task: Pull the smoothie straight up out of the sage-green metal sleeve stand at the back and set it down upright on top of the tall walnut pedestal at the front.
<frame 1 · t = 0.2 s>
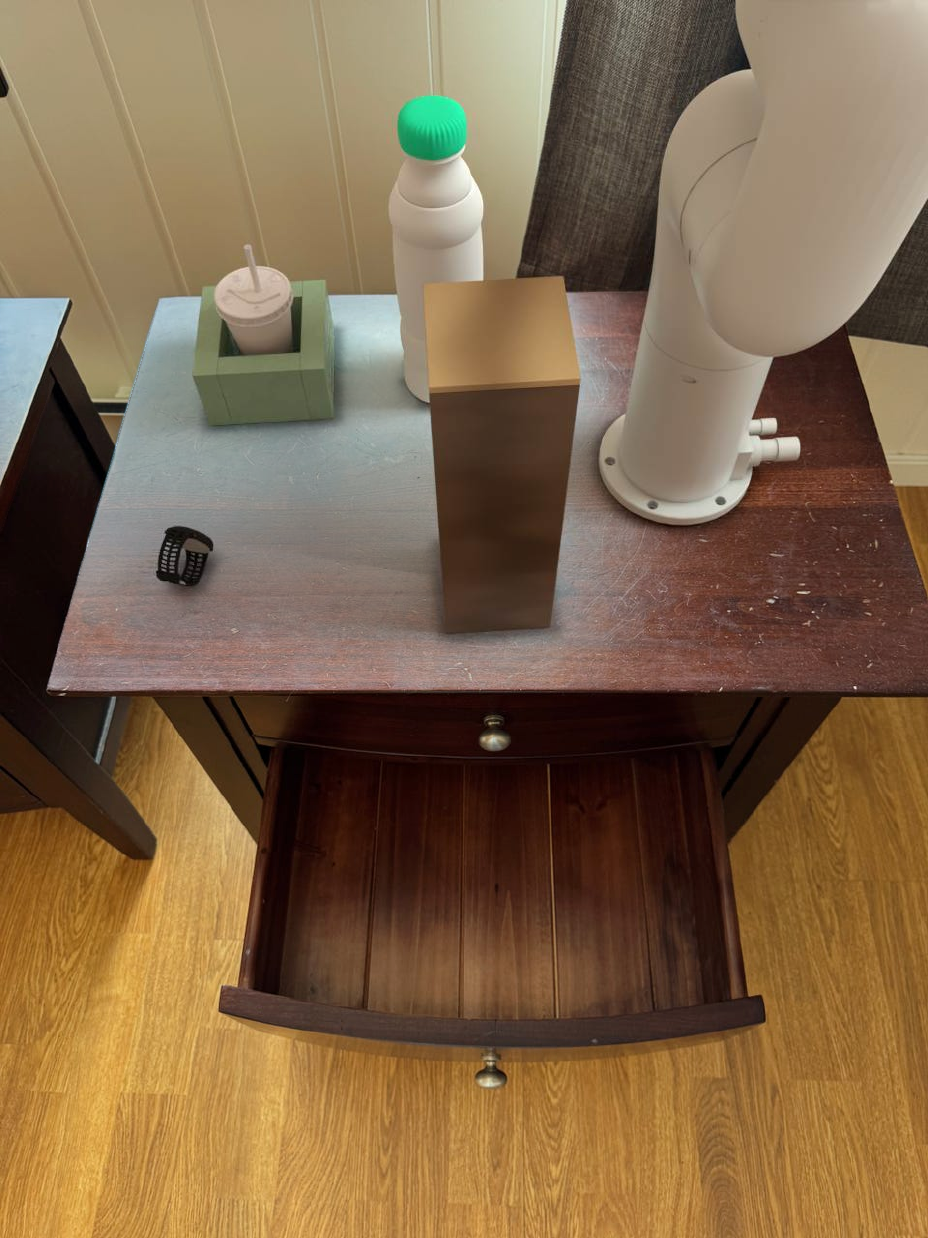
smartwatch: (188, 576, 75), on the nightstand
stand: (274, 377, 86), on the nightstand
smoothie: (274, 378, 86), resting in stand
water bottle: (444, 381, 86), on the nightstand
riser: (493, 586, 74), on the nightstand
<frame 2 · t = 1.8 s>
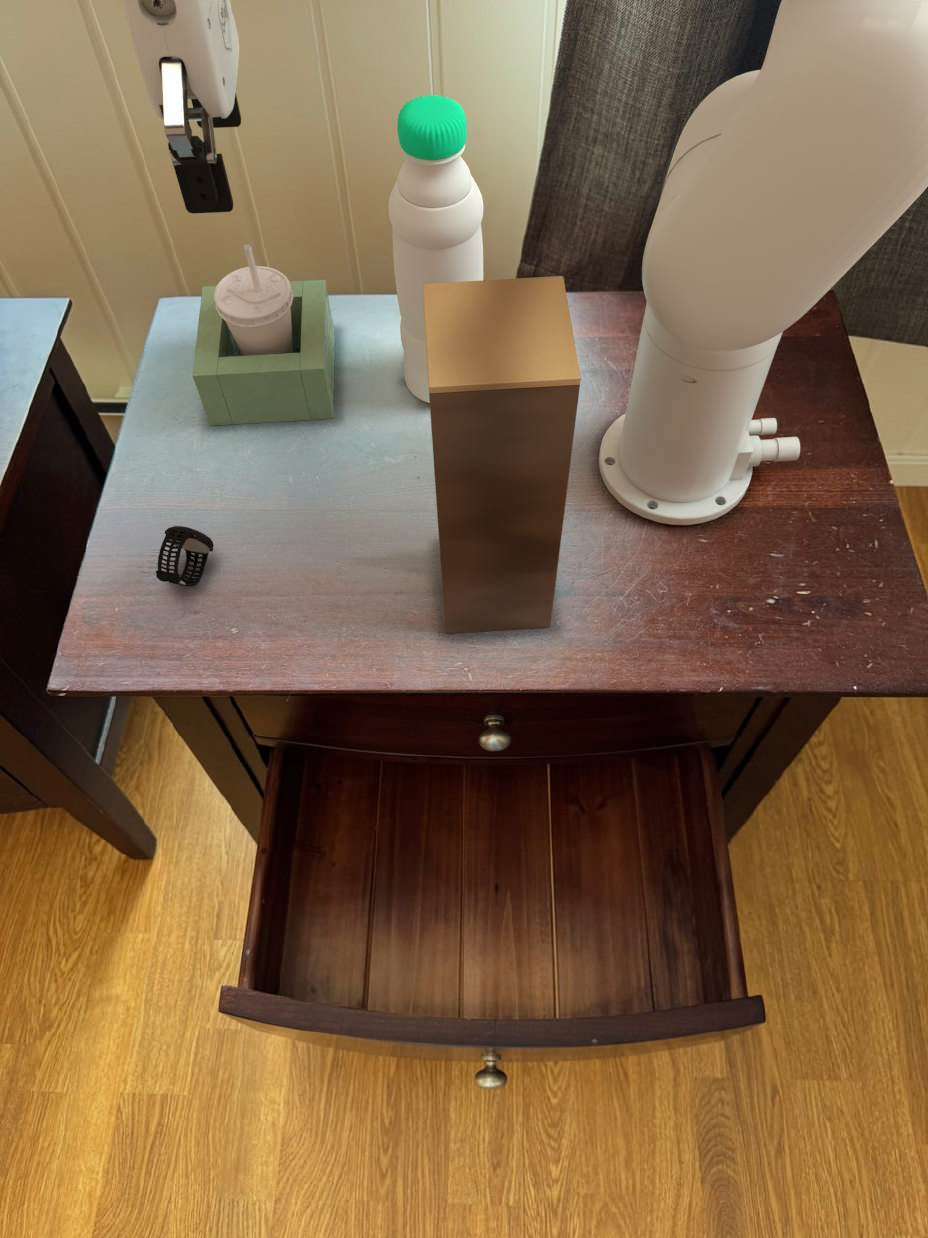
hand: (215, 166, 68), 21 cm above the nightstand, tool pointing down, fingers open, 9 cm apart
nothing on the nightstand moved.
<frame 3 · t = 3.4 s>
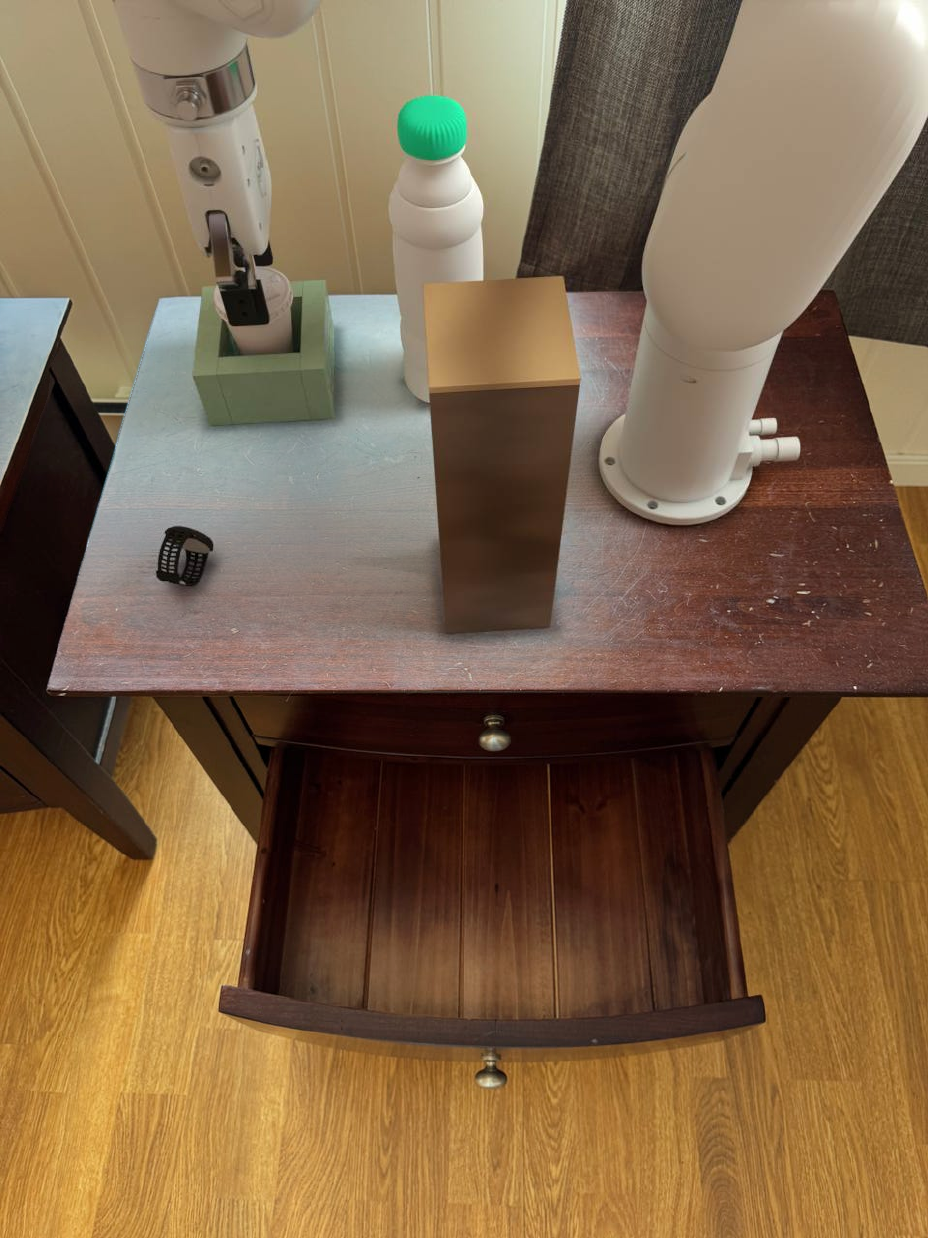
hand: (252, 291, 78), 10 cm above the nightstand, tool pointing down, fingers closed on smoothie, 6 cm apart
smoothie: (274, 378, 86), resting in stand, touching gripper
everything else where it was.
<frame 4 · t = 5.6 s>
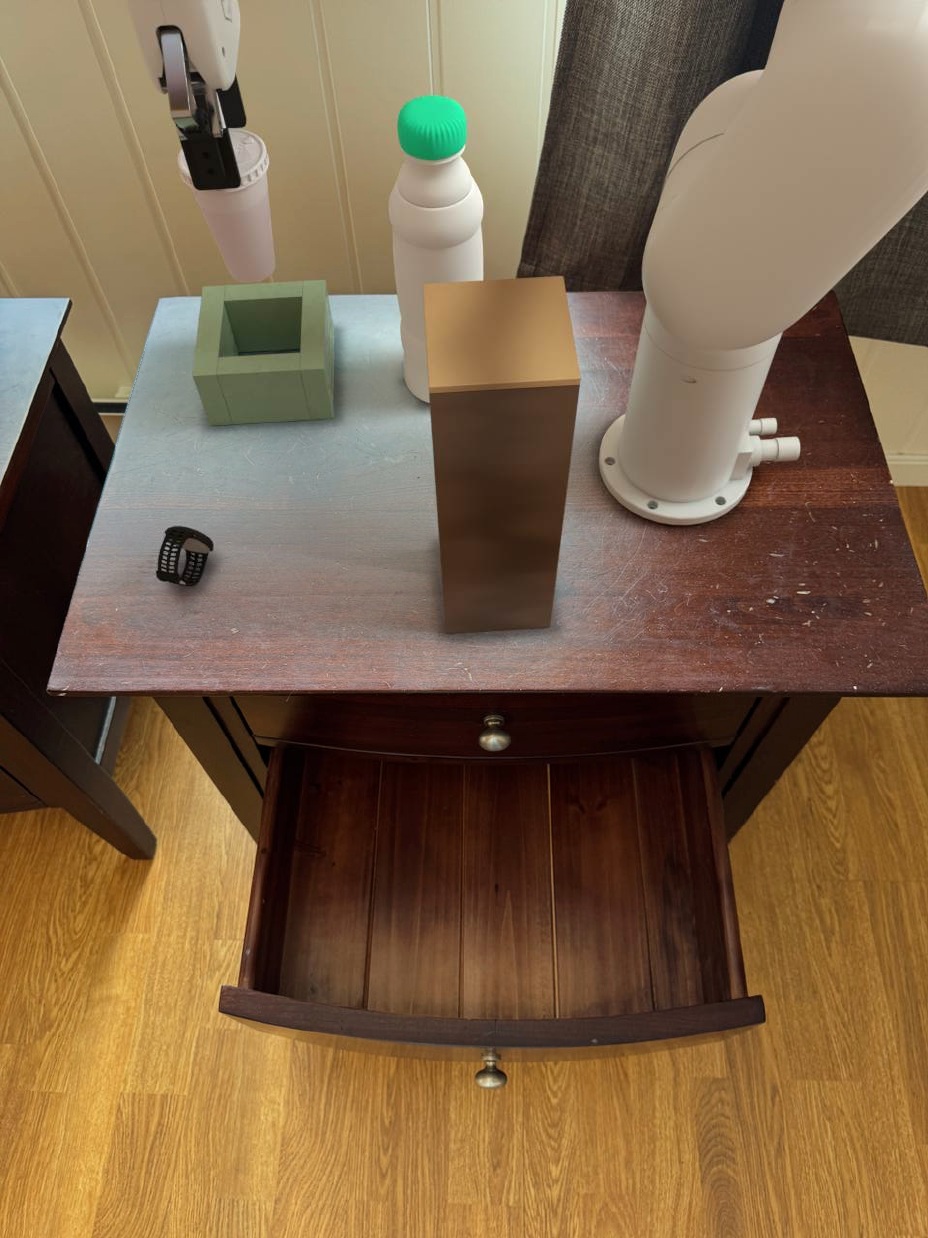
hand: (221, 153, 67), 22 cm above the nightstand, tool pointing down, fingers closed on smoothie, 6 cm apart
smoothie: (252, 269, 76), point 12 cm above the nightstand, touching gripper
everything else where it was.
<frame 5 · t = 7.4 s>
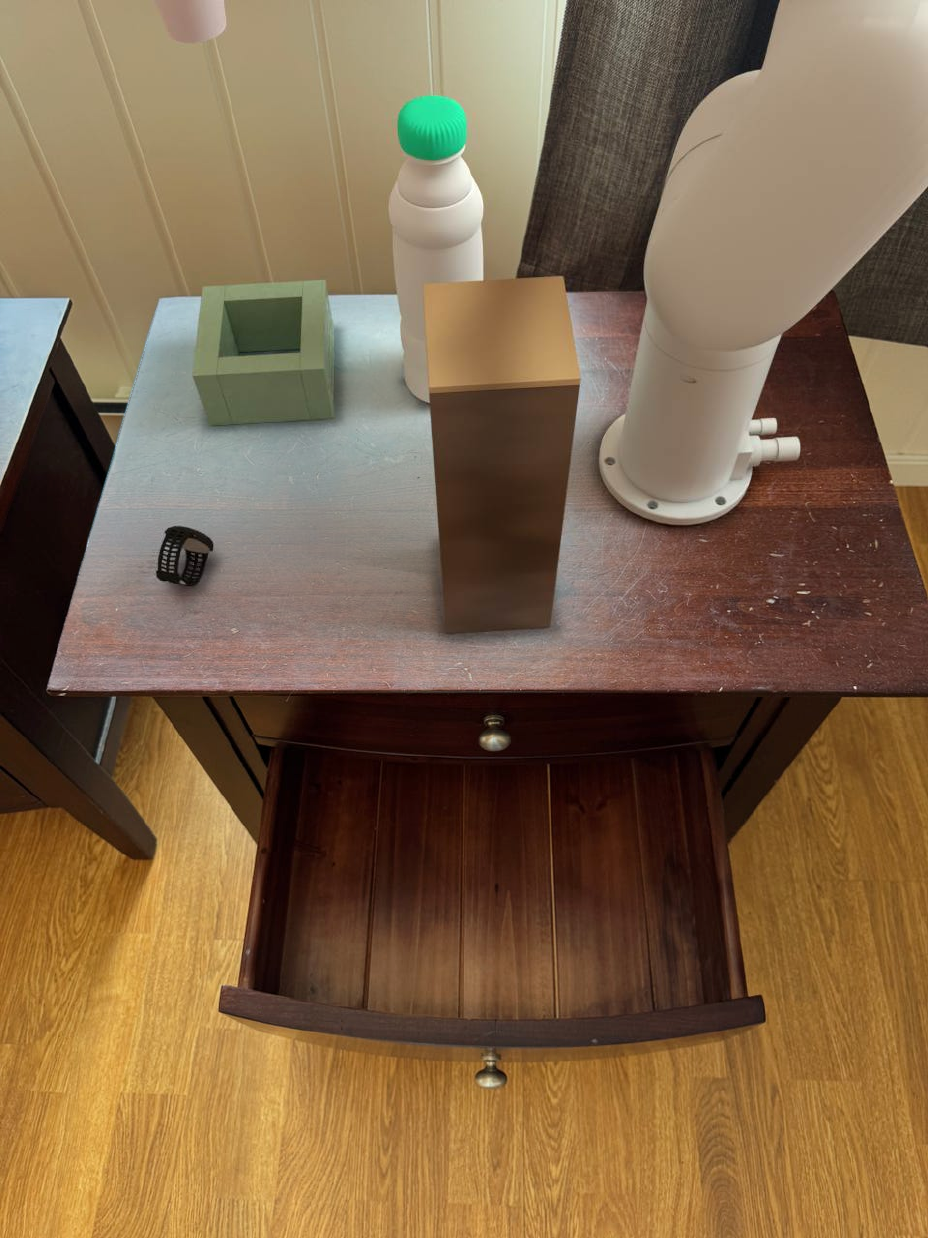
smoothie: (197, 29, 59), point 31 cm above the nightstand, touching gripper
everything else where it was.
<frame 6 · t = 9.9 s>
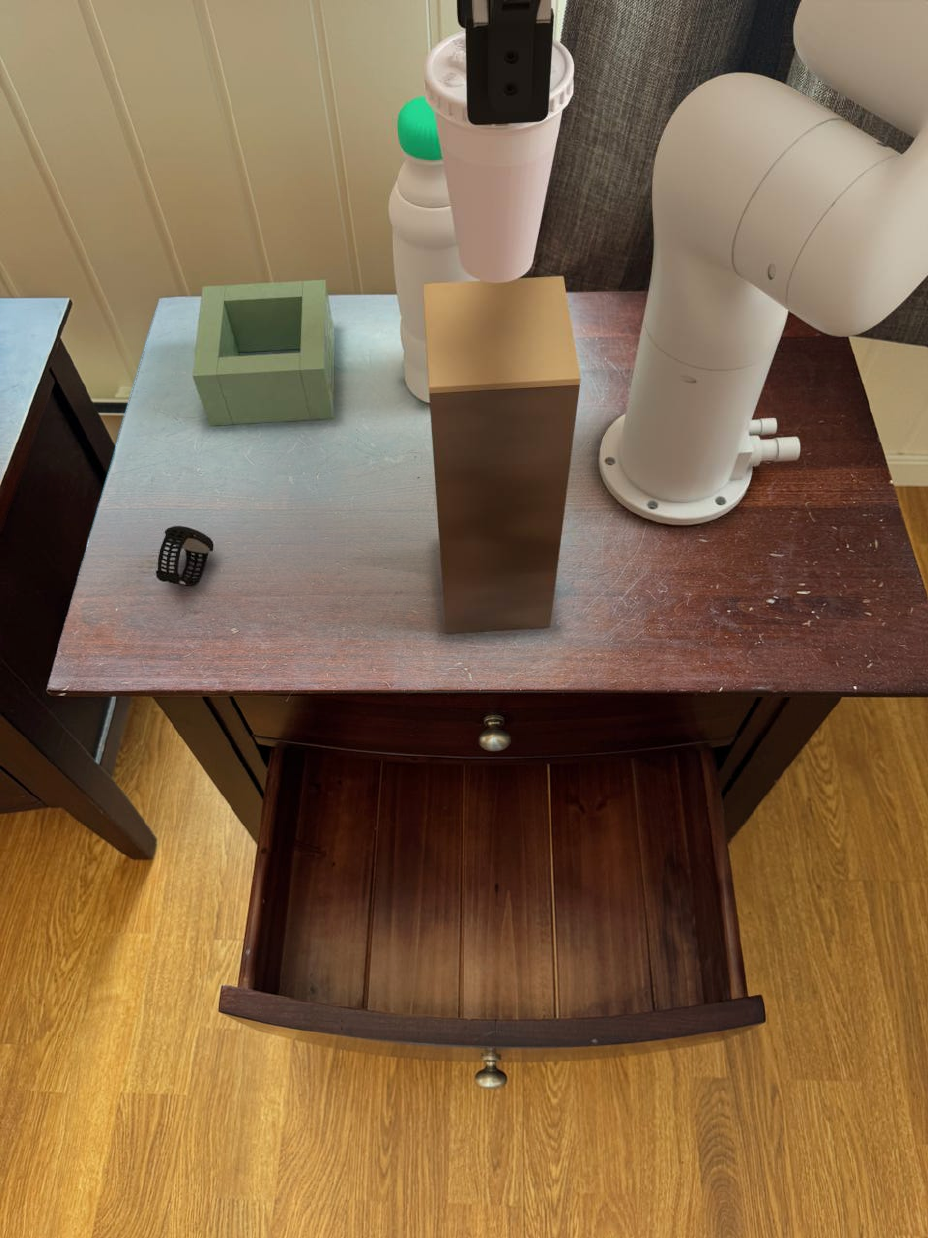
hand: (500, 65, 40), 40 cm above the nightstand, tool pointing down, fingers closed on smoothie, 6 cm apart
smoothie: (496, 260, 48), point 30 cm above the nightstand, touching gripper
everything else where it was.
when the fingers open (36 cm above the nightstand, at t = 11.7 s): smoothie stays where it is, resting on riser.
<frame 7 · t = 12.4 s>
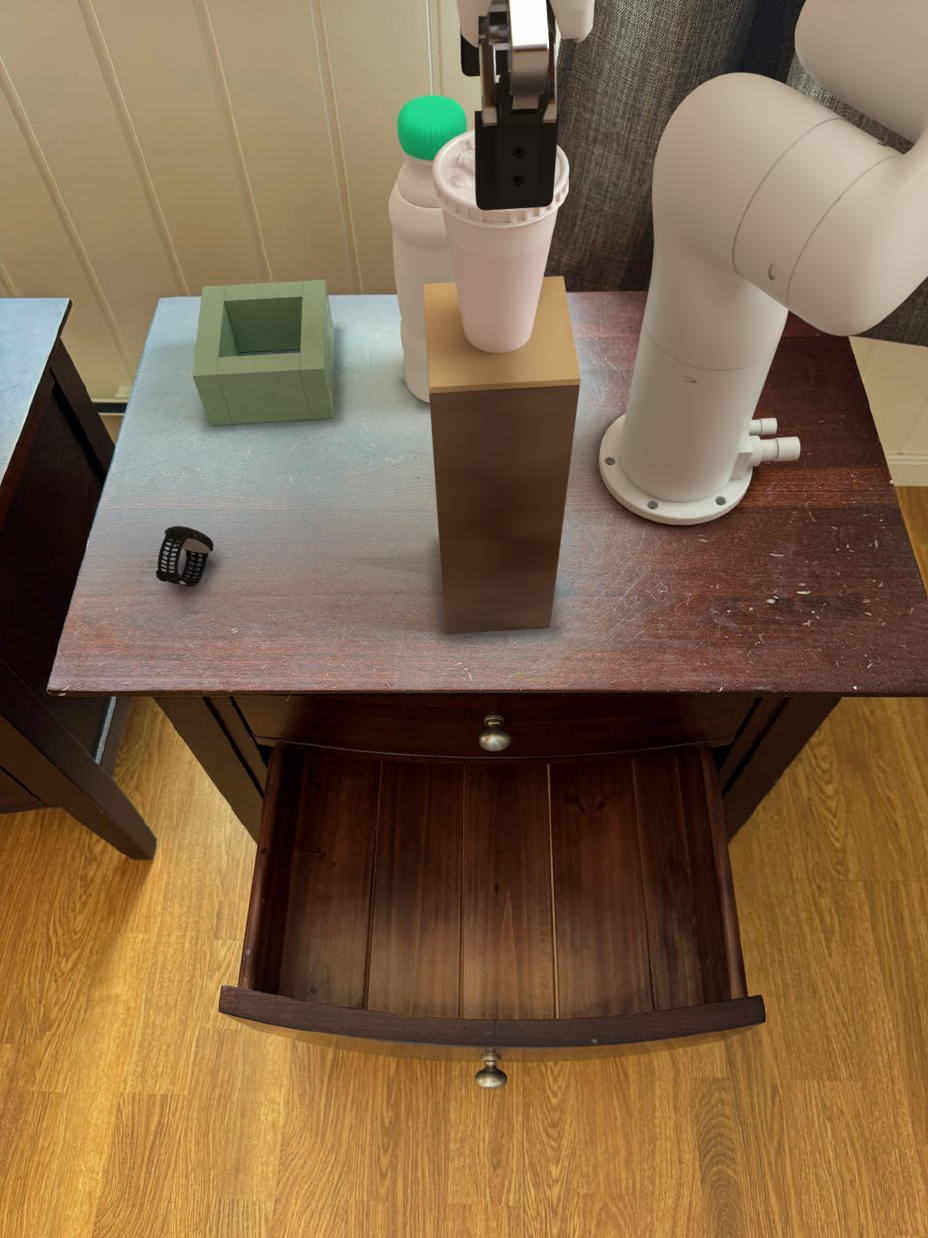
hand: (504, 134, 42), 37 cm above the nightstand, tool pointing down, fingers open, 9 cm apart
smoothie: (497, 331, 52), point 26 cm above the nightstand, touching riser
everything else where it was.
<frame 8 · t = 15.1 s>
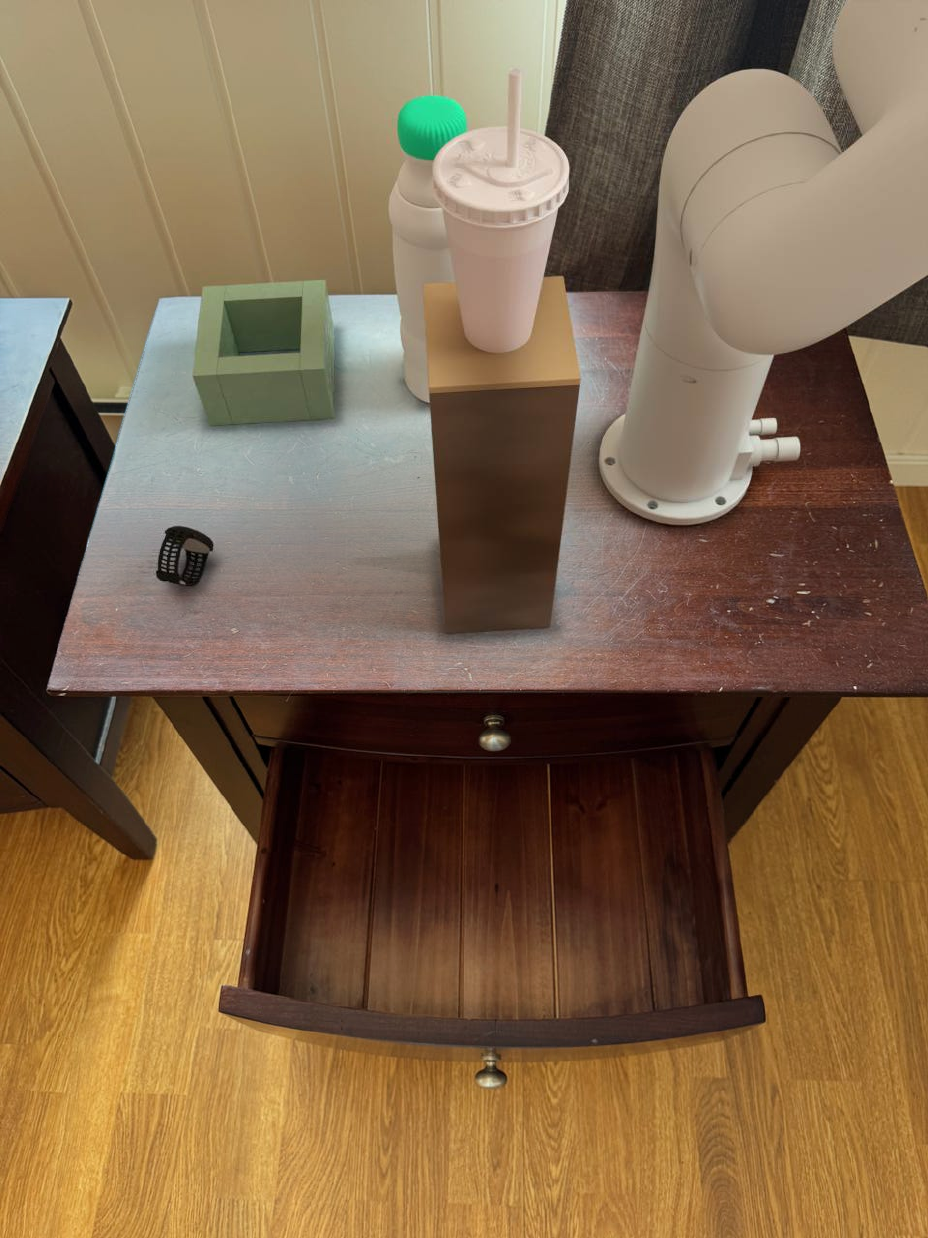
nothing on the nightstand moved.
at the end: smoothie 0.1 cm off-centre on the riser, point 25.8 cm above the riser's base; smoothie tilted 0°; smoothie touching riser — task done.
